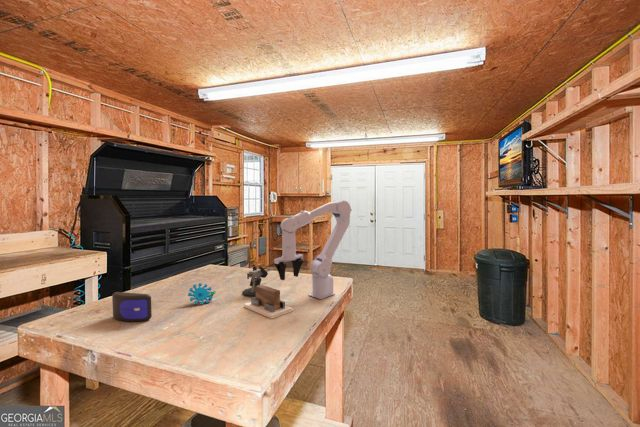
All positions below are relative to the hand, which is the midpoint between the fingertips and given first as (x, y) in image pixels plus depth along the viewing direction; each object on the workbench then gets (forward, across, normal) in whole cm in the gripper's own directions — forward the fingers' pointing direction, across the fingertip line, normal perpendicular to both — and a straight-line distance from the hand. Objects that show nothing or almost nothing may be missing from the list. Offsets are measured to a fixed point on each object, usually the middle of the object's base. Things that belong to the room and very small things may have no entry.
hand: (289, 278), depth 125 cm
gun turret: (+10, +1, -20) cm, 22 cm away
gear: (+10, +27, -25) cm, 38 cm away
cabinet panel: (+9, +13, +2) cm, 16 cm away
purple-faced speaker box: (+10, +52, -27) cm, 59 cm away
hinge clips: (+8, +13, +2) cm, 15 cm away
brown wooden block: (+8, +13, +2) cm, 15 cm away
